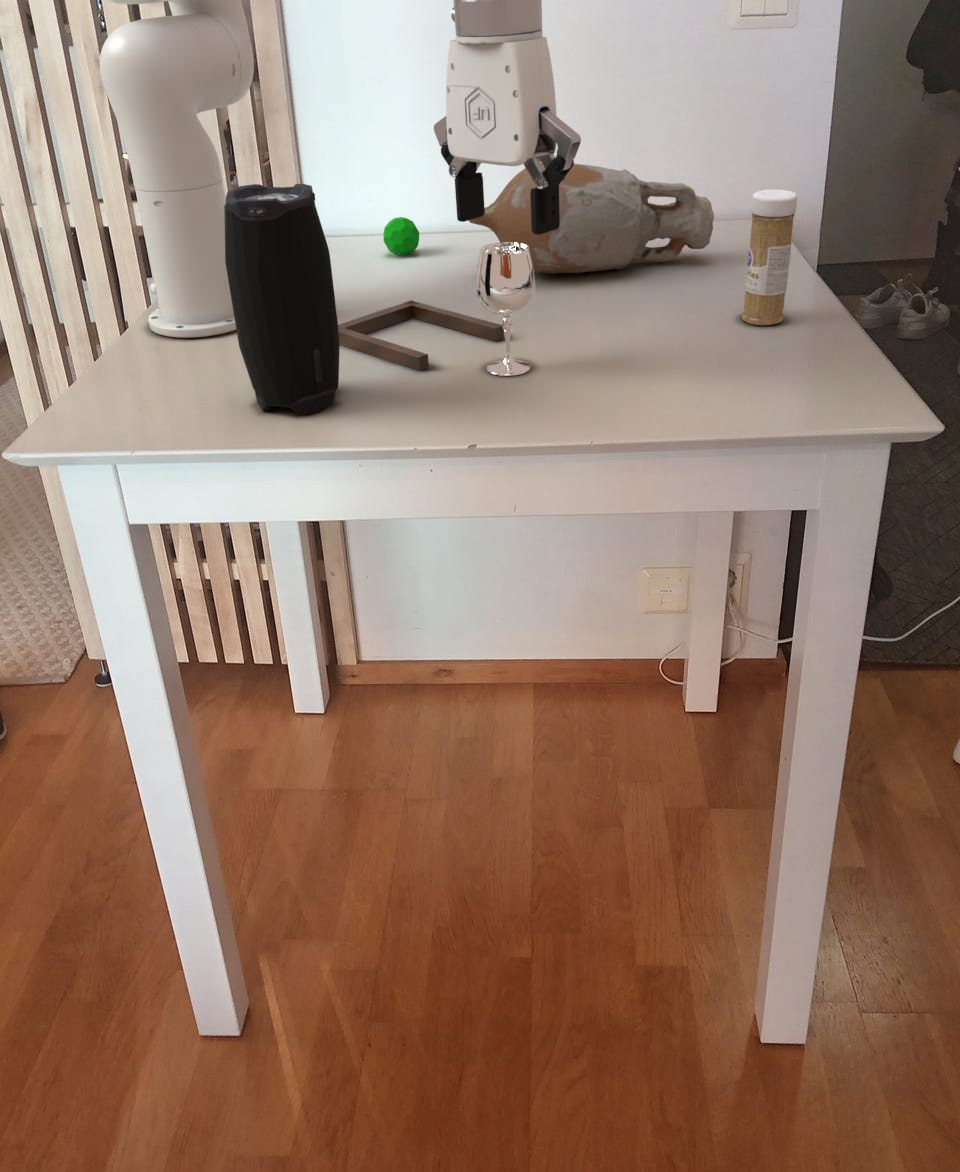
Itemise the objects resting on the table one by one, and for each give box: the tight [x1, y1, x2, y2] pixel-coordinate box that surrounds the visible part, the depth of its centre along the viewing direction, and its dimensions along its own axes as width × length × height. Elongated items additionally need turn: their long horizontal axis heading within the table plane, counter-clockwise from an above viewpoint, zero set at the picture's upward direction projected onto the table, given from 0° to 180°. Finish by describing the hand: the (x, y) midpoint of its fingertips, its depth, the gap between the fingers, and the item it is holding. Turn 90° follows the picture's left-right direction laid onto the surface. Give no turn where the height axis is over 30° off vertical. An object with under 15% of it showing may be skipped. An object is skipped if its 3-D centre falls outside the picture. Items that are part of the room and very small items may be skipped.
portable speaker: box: [224, 183, 341, 416], centre depth 98 cm, size 9×9×20 cm
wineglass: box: [475, 241, 537, 377], centre depth 105 cm, size 6×6×12 cm
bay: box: [338, 300, 505, 372], centre depth 117 cm, size 15×12×2 cm
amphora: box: [468, 162, 715, 275], centre depth 134 cm, size 14×16×30 cm
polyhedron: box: [383, 216, 420, 257], centre depth 147 cm, size 5×5×5 cm
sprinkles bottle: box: [741, 189, 798, 326], centre depth 114 cm, size 5×5×14 cm
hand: (507, 224), depth 101 cm, fingers open, 9 cm apart
